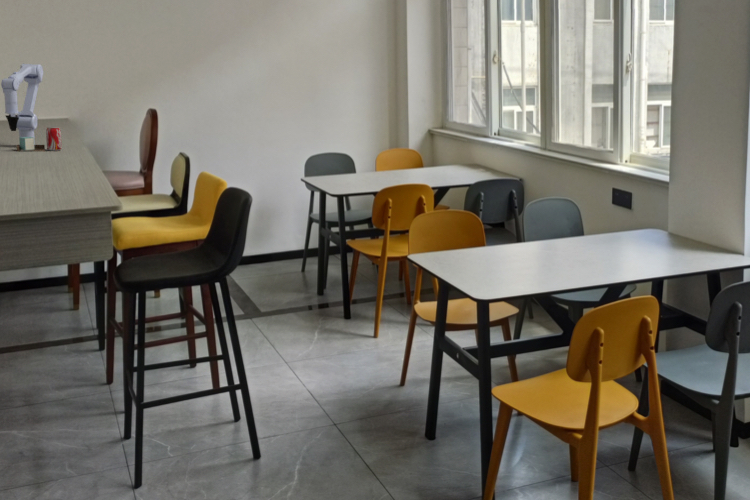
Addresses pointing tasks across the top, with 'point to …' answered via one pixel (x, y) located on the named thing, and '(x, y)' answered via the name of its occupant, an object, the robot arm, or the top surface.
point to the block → (27, 143)
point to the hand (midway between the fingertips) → (13, 130)
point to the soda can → (53, 138)
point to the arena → (37, 148)
